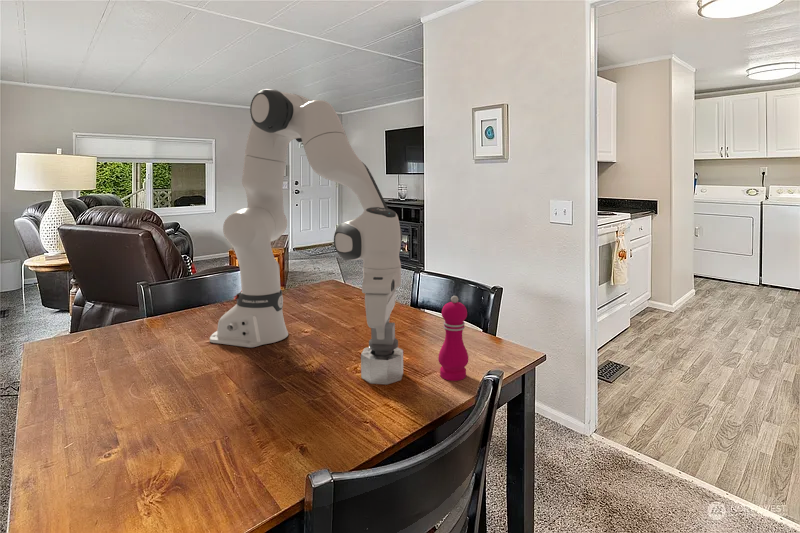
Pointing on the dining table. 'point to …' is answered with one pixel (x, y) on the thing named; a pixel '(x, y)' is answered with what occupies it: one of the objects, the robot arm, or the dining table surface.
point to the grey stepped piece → (384, 341)
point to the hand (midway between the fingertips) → (383, 334)
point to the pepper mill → (453, 342)
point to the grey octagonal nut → (381, 366)
